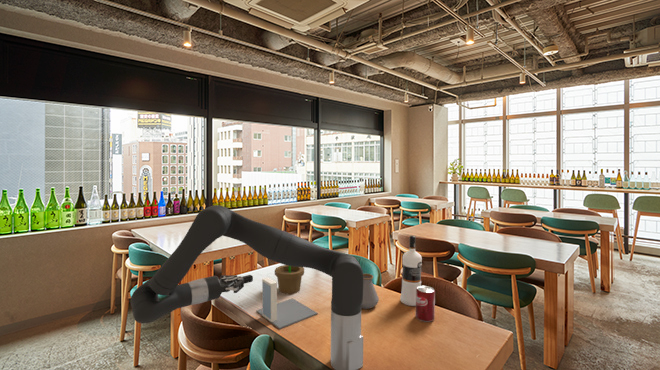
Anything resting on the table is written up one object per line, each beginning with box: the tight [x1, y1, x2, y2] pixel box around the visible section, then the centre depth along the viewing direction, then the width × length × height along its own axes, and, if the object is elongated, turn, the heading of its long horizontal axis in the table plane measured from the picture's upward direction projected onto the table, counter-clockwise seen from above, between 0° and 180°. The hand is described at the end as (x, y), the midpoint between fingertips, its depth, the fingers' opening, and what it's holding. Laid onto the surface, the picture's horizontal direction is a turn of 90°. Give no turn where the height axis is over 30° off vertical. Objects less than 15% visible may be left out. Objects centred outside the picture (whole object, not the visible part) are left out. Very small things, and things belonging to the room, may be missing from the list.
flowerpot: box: [274, 234, 305, 295], centre depth 150 cm, size 14×14×30 cm
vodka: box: [399, 235, 423, 307], centre depth 138 cm, size 9×9×30 cm
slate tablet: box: [261, 277, 278, 323], centre depth 122 cm, size 7×3×15 cm, turn 41°
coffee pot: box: [361, 273, 380, 310], centre depth 138 cm, size 21×12×15 cm, turn 58°
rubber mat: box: [256, 297, 318, 330], centre depth 128 cm, size 18×18×1 cm
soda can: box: [415, 285, 436, 323], centre depth 124 cm, size 7×7×12 cm
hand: (251, 277), depth 113 cm, fingers closed
